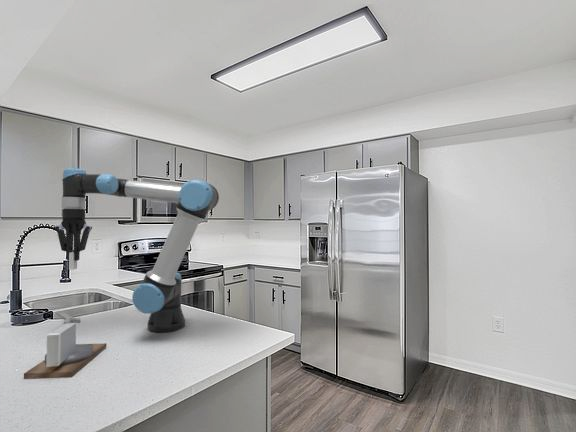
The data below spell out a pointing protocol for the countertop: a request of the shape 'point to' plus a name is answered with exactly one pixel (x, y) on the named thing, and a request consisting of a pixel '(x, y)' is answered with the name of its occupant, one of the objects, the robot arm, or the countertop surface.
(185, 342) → the countertop surface
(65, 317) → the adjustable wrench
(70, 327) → the grey panel and disc
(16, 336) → the countertop surface
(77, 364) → the dial board
